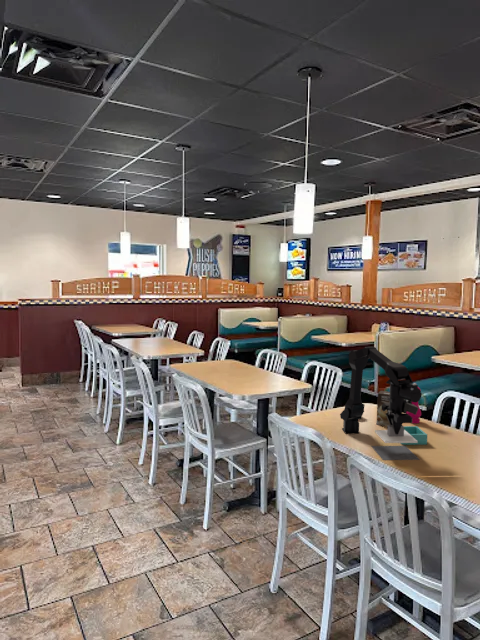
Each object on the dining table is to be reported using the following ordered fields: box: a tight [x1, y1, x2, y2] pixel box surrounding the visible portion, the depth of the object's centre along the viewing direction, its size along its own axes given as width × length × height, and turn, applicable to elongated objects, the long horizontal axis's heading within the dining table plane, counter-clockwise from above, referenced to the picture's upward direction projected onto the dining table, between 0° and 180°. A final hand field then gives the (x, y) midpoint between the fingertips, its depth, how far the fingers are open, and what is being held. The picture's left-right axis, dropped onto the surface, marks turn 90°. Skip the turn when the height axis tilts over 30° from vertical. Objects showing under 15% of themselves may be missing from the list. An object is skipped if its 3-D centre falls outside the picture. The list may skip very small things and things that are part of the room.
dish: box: [400, 425, 428, 446], centre depth 202 cm, size 11×11×5 cm
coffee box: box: [376, 390, 390, 427], centre depth 224 cm, size 9×6×16 cm
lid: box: [374, 424, 418, 444], centre depth 187 cm, size 13×13×5 cm
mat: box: [371, 445, 421, 461], centre depth 188 cm, size 15×15×1 cm
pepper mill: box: [407, 382, 422, 425], centre depth 228 cm, size 7×7×20 cm
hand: (395, 433), depth 187 cm, fingers closed on lid, 2 cm apart
